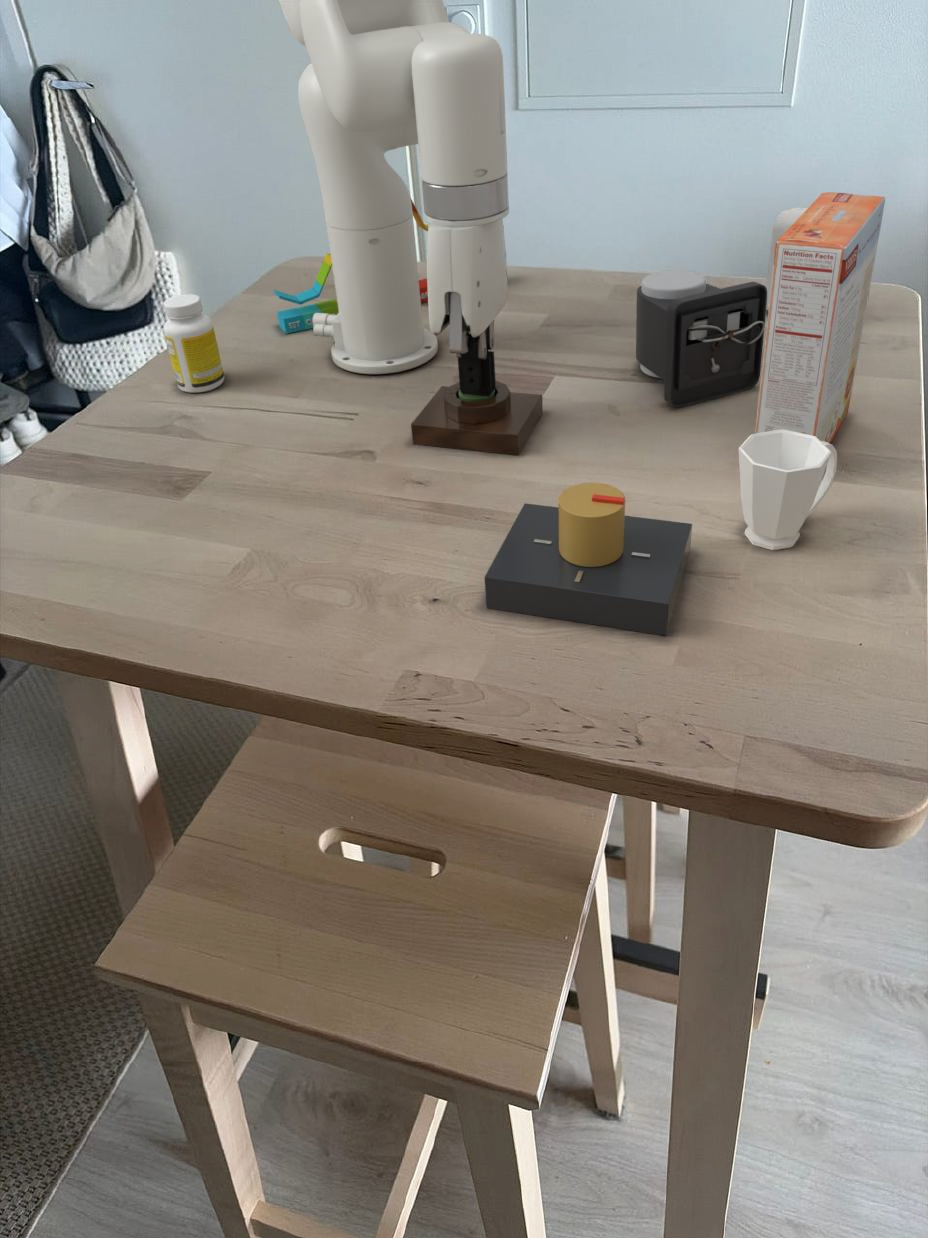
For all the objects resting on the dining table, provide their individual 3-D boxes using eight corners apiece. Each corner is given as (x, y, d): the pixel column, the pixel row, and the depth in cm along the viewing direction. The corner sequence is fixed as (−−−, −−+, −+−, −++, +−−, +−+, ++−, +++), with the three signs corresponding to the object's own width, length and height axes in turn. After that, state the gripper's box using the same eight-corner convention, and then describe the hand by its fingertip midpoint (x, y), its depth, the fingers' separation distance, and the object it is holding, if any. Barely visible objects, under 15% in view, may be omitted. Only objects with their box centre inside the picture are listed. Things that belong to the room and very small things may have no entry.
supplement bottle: (233, 376, 116) (215, 292, 110) (210, 396, 112) (190, 310, 106) (193, 372, 117) (173, 289, 111) (168, 391, 113) (146, 307, 107)
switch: (454, 413, 99) (453, 396, 98) (466, 397, 102) (465, 381, 101) (489, 416, 98) (488, 399, 97) (499, 400, 101) (499, 384, 100)
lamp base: (412, 444, 100) (408, 407, 97) (443, 404, 106) (440, 369, 104) (518, 455, 96) (516, 417, 94) (542, 414, 103) (542, 377, 101)
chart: (286, 334, 125) (264, 210, 116) (279, 326, 127) (257, 203, 118) (502, 284, 134) (497, 165, 125) (491, 277, 136) (486, 160, 127)
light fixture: (693, 352, 114) (697, 255, 108) (764, 389, 104) (773, 284, 98) (609, 372, 111) (609, 274, 105) (674, 412, 101) (678, 306, 95)
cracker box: (788, 405, 101) (820, 188, 88) (849, 415, 98) (891, 194, 86) (744, 467, 92) (773, 235, 79) (810, 481, 89) (851, 243, 76)
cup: (710, 532, 84) (719, 446, 79) (793, 493, 88) (806, 409, 83) (774, 569, 79) (788, 481, 74) (858, 526, 83) (877, 439, 78)
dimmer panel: (486, 608, 77) (483, 575, 76) (525, 532, 86) (524, 501, 84) (666, 636, 73) (668, 602, 71) (689, 554, 81) (692, 521, 80)
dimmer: (551, 562, 76) (551, 508, 74) (567, 527, 80) (567, 475, 77) (615, 571, 75) (617, 517, 72) (629, 535, 79) (631, 482, 76)
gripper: (453, 174, 94) (466, 359, 105) (394, 221, 83) (415, 422, 94) (530, 175, 92) (535, 364, 103) (479, 224, 81) (491, 429, 92)
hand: (478, 391), depth 99 cm, fingers closed
